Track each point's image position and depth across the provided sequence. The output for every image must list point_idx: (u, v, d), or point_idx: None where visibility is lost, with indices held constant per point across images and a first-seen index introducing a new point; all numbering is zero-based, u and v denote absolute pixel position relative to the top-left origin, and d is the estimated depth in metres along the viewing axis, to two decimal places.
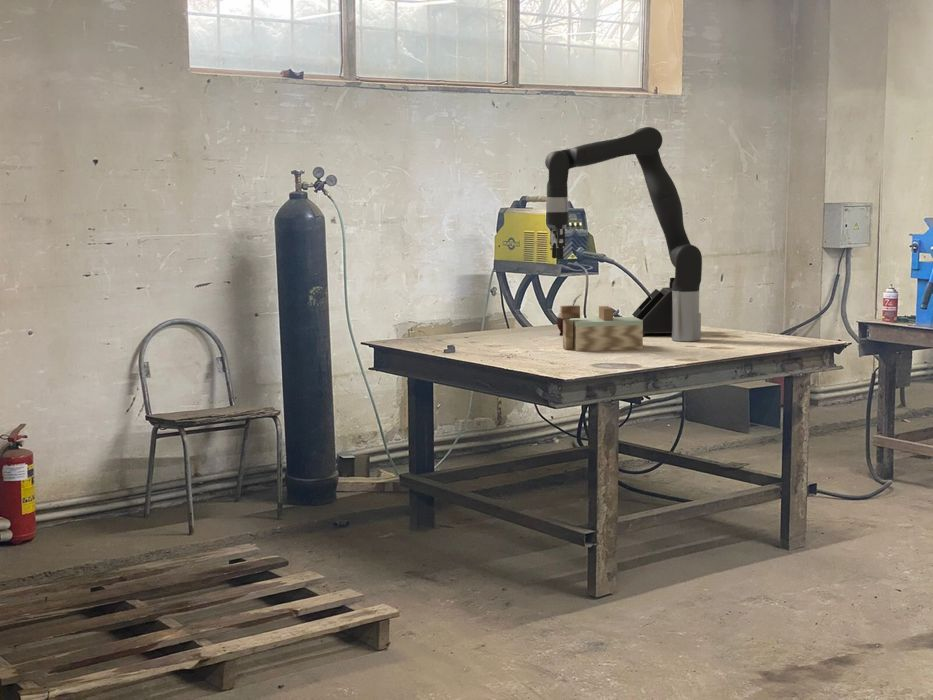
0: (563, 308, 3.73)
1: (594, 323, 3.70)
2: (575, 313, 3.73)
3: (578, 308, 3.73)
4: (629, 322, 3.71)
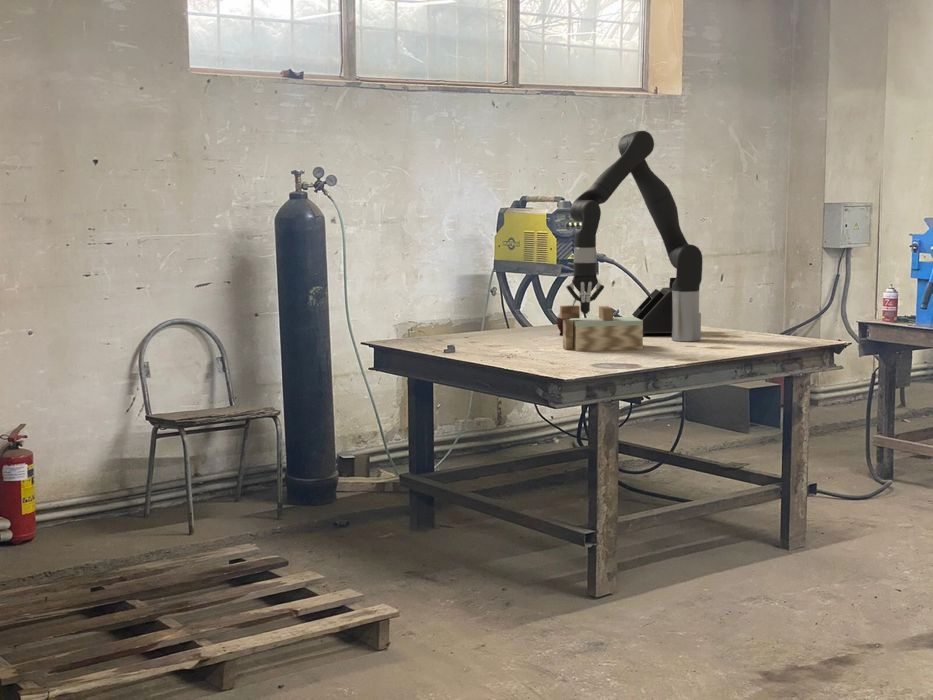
0: (563, 308, 3.73)
1: (594, 323, 3.70)
2: (574, 313, 3.73)
3: (578, 308, 3.73)
4: (629, 322, 3.71)
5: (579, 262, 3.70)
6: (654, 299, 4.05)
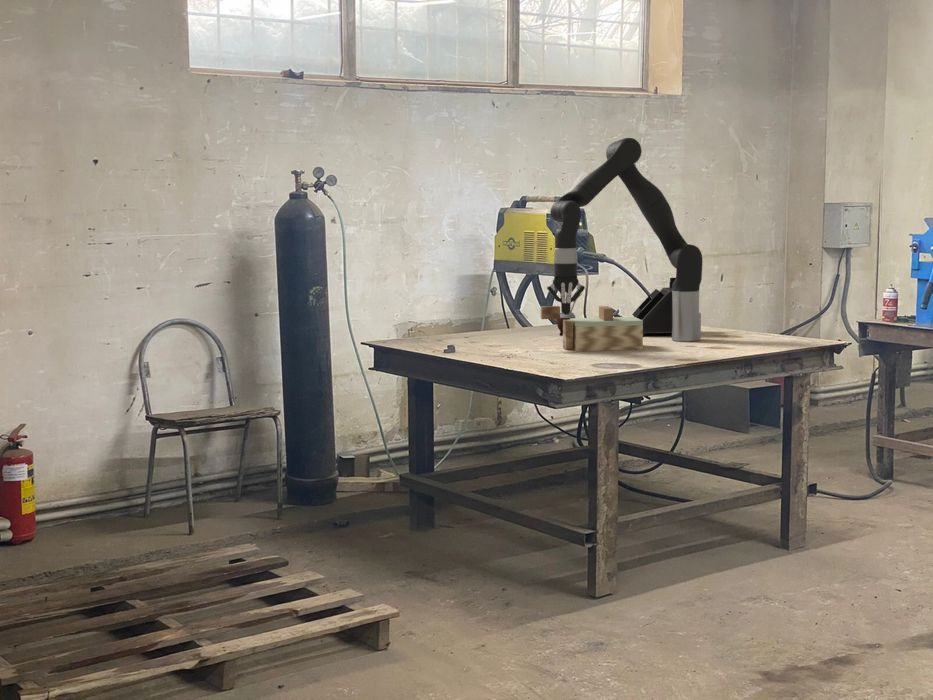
0: (543, 309, 3.72)
1: (594, 323, 3.70)
2: (555, 313, 3.73)
3: (558, 309, 3.73)
4: (629, 322, 3.71)
5: (559, 263, 3.69)
6: (654, 299, 4.05)
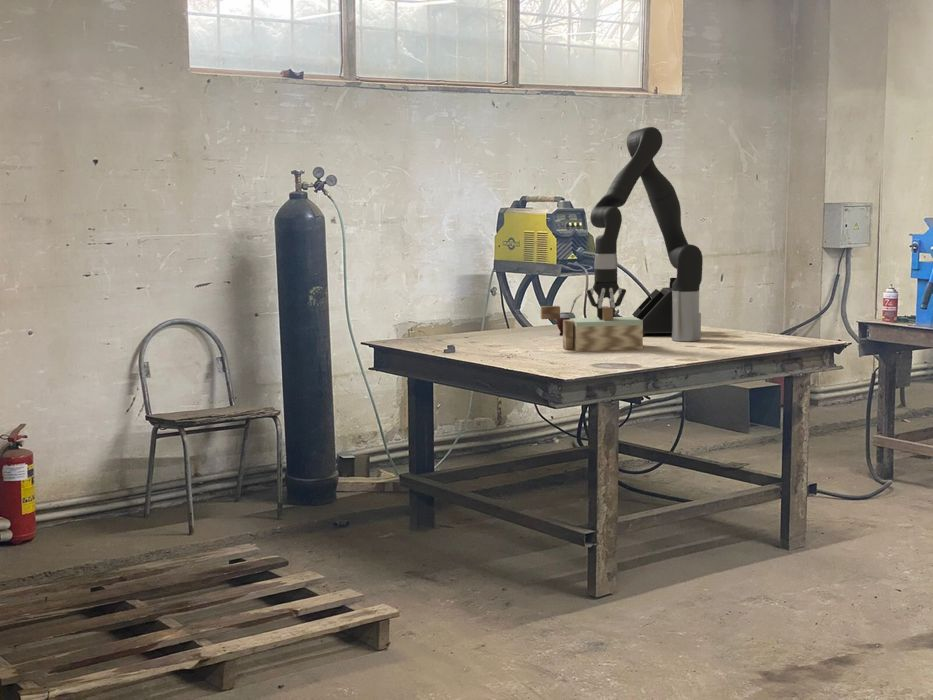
0: (543, 309, 3.72)
1: (594, 323, 3.70)
2: (555, 313, 3.73)
3: (558, 309, 3.73)
4: (629, 322, 3.71)
5: (600, 268, 3.71)
6: (654, 299, 4.05)
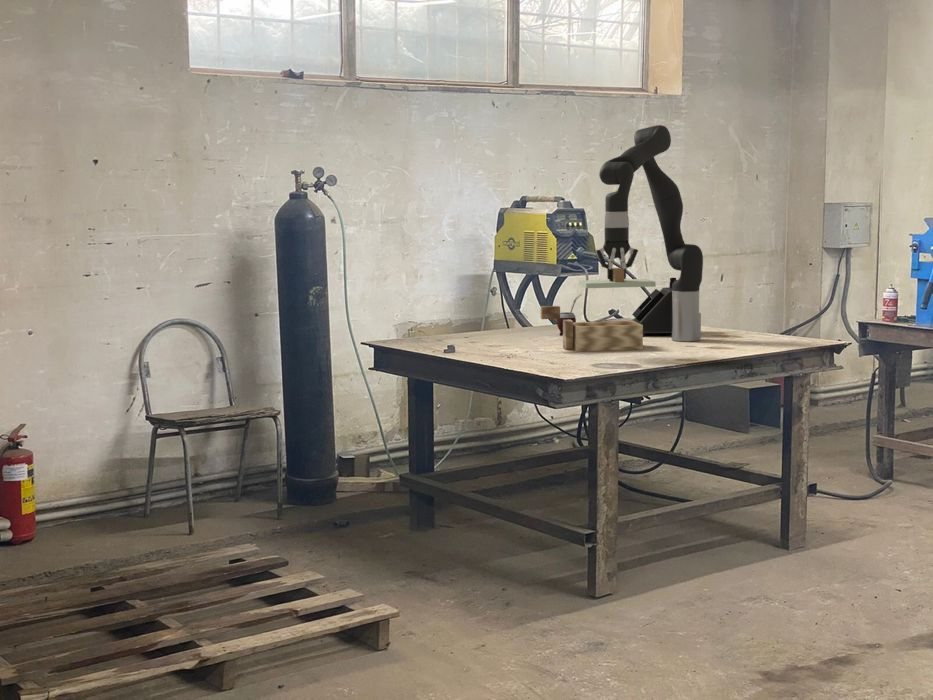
0: (543, 309, 3.72)
1: (604, 284, 3.53)
2: (555, 313, 3.73)
3: (558, 309, 3.73)
4: (641, 283, 3.54)
5: (611, 227, 3.54)
6: (654, 299, 4.05)
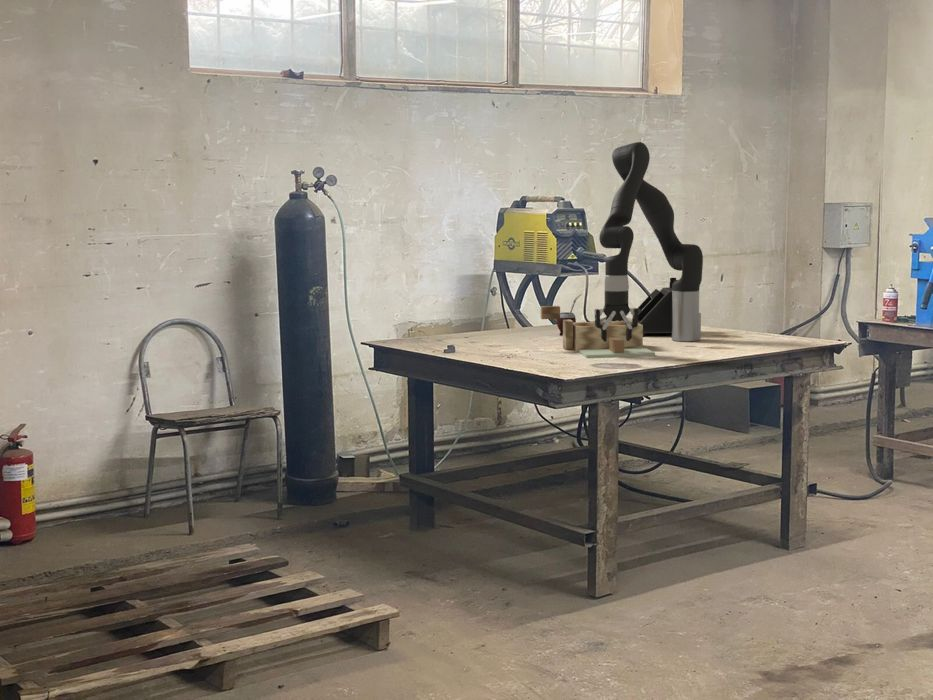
0: (543, 309, 3.72)
1: (604, 356, 3.56)
2: (555, 313, 3.73)
3: (558, 309, 3.73)
4: (641, 355, 3.57)
5: (610, 290, 3.56)
6: (654, 299, 4.05)
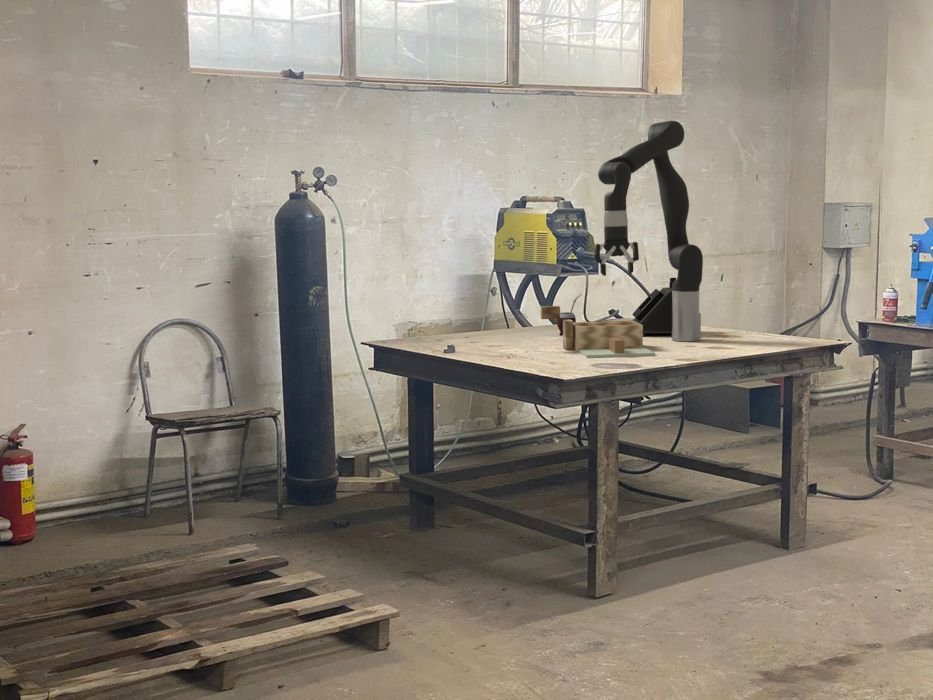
0: (543, 309, 3.72)
1: (605, 356, 3.56)
2: (555, 313, 3.73)
3: (558, 309, 3.73)
4: (641, 355, 3.57)
5: (610, 226, 3.63)
6: (654, 299, 4.05)
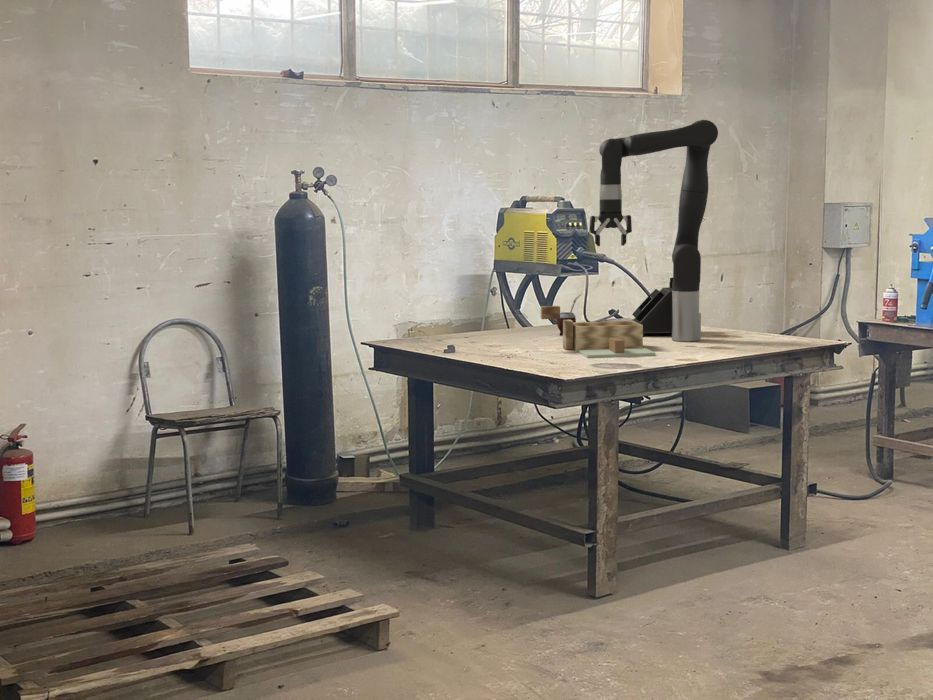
0: (543, 309, 3.72)
1: (605, 356, 3.56)
2: (555, 313, 3.73)
3: (558, 309, 3.73)
4: (641, 354, 3.57)
5: (605, 199, 3.83)
6: (654, 299, 4.05)
